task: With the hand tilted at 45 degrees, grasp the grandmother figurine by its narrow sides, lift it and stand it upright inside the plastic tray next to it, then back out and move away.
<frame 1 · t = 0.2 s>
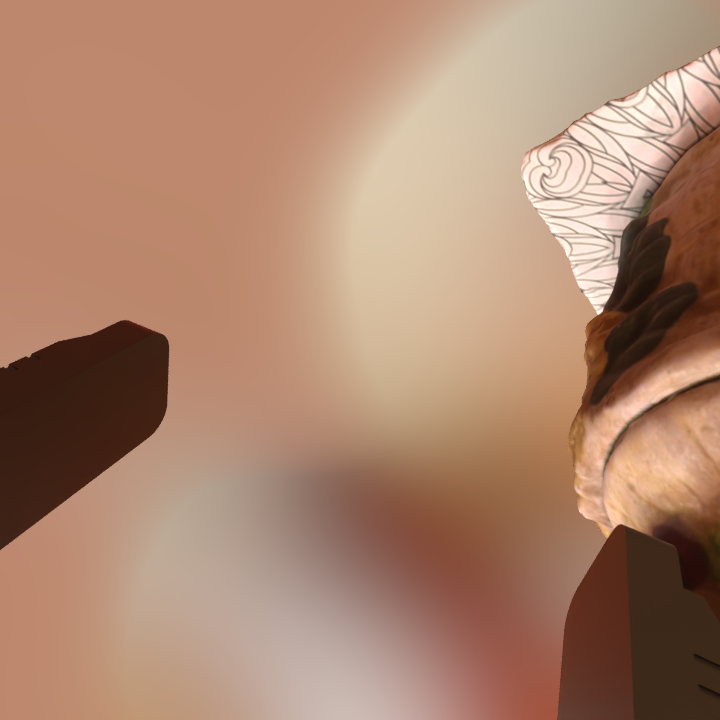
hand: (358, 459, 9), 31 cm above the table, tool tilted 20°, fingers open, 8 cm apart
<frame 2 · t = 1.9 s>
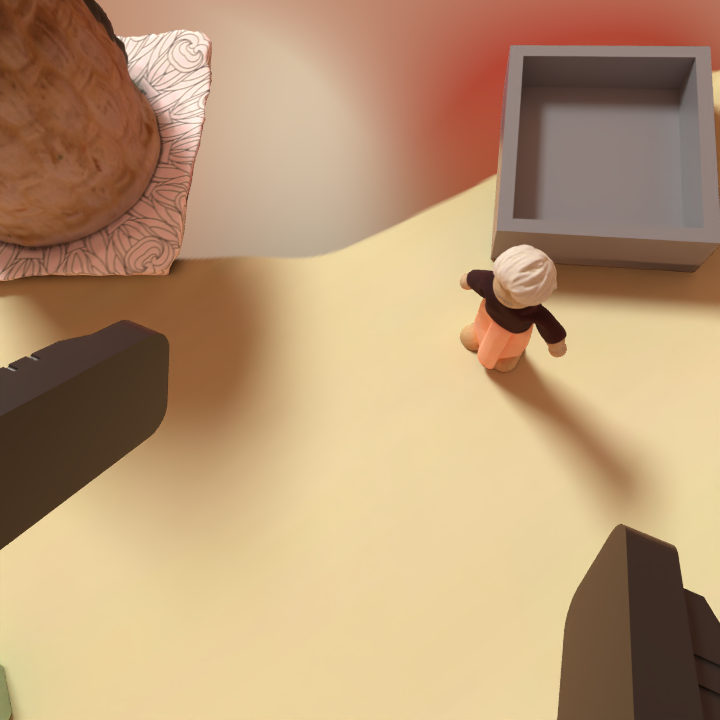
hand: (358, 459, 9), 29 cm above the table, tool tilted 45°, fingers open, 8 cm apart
grandmother figurine: (498, 349, 40), on the table
cookie jar: (73, 161, 50), on the table
tray: (591, 171, 43), on the table
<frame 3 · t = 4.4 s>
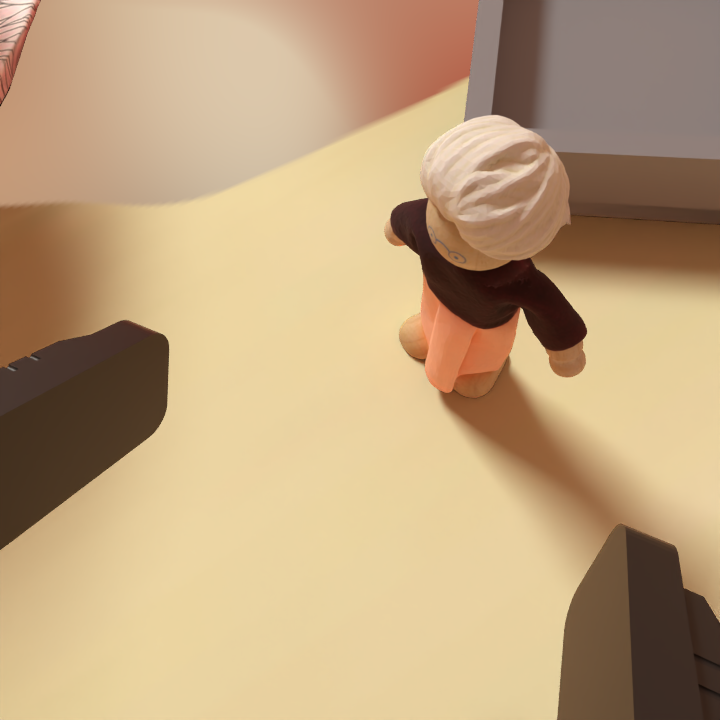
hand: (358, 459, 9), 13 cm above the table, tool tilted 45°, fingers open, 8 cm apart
grandmother figurine: (463, 358, 23), on the table
tray: (625, 69, 26), on the table
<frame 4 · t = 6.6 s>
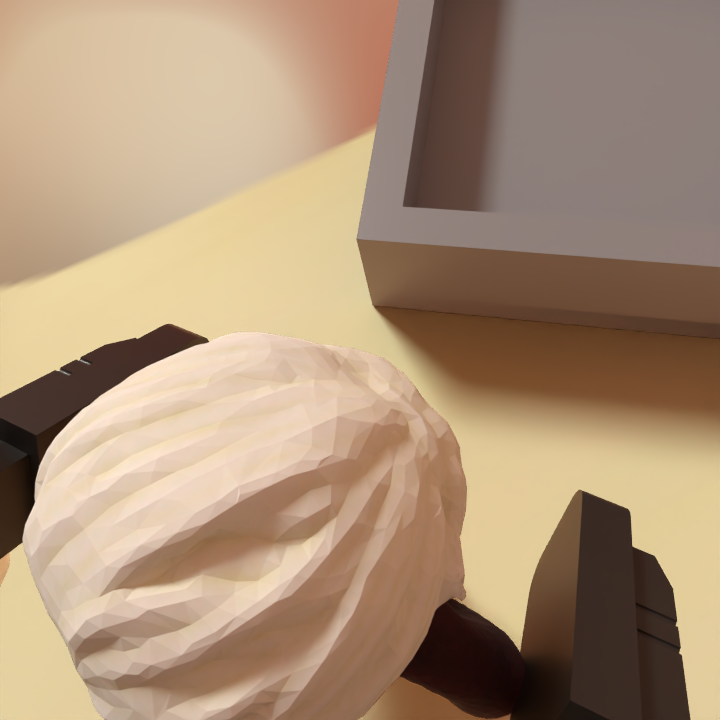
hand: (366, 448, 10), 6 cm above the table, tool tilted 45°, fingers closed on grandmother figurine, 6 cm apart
grandmother figurine: (371, 542, 15), on the table, touching gripper
tray: (614, 106, 19), on the table
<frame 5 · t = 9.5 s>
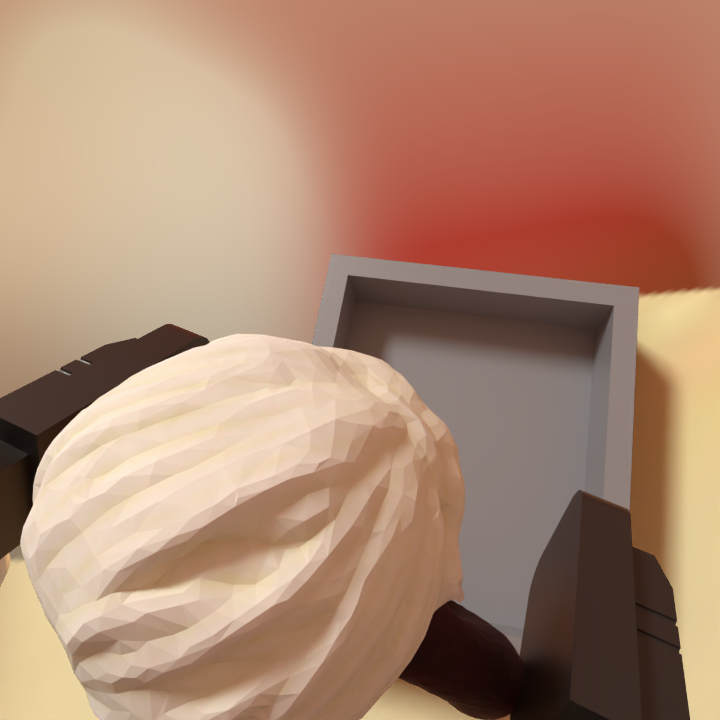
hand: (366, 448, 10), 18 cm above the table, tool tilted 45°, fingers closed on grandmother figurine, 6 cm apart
grandmother figurine: (370, 542, 15), point 12 cm above the table, touching gripper
tray: (452, 454, 27), on the table
when the fingers open (9 cm above the table, at t = 12.3 s): grandmother figurine drops 1 cm, resting on tray.
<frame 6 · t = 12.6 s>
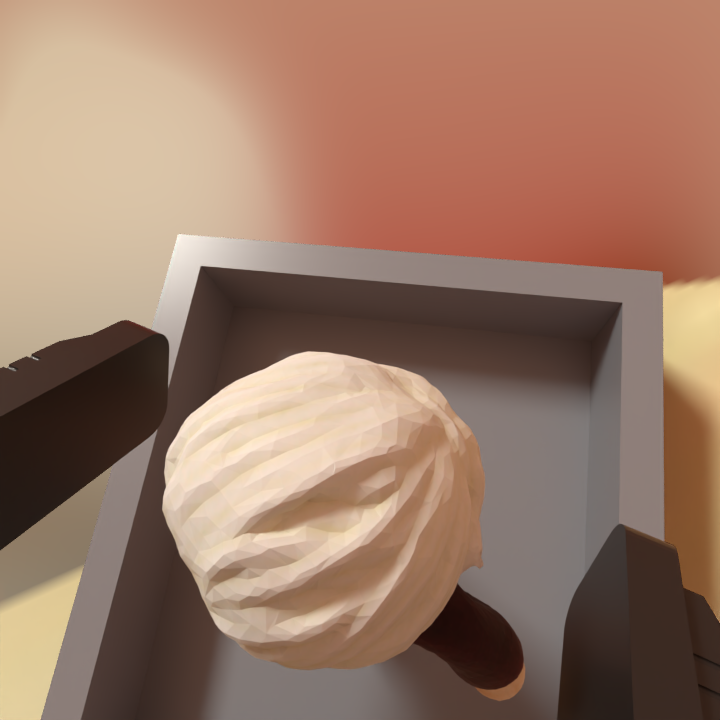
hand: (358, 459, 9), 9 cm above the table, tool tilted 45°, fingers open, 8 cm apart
grandmother figurine: (374, 549, 17), point 1 cm above the table, touching tray
tray: (376, 540, 18), on the table
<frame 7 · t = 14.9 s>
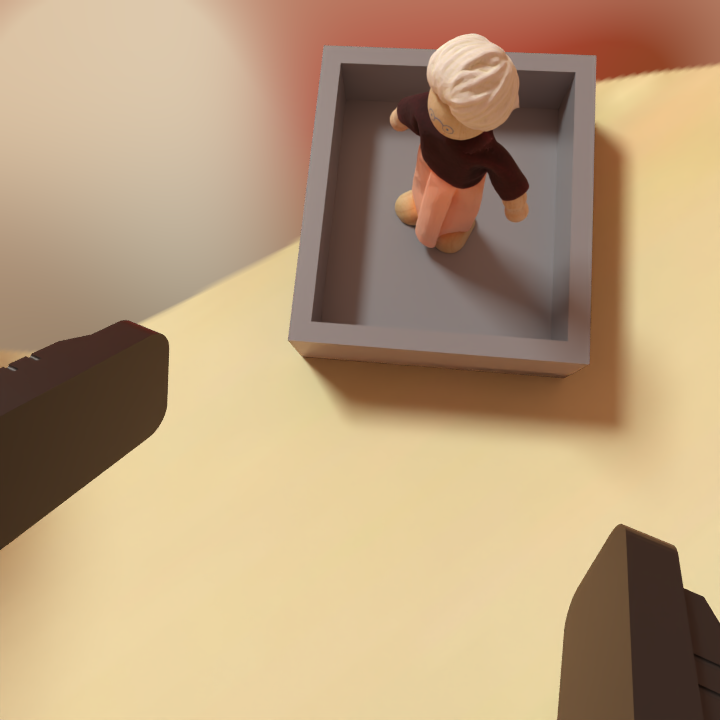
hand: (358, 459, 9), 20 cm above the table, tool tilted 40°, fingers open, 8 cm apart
grandmother figurine: (442, 225, 31), point 1 cm above the table, touching tray
tray: (440, 227, 31), on the table
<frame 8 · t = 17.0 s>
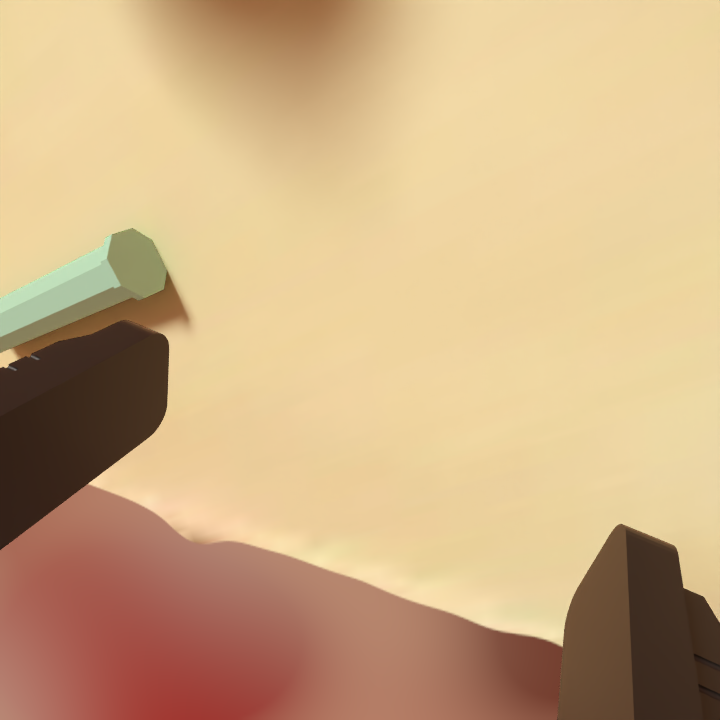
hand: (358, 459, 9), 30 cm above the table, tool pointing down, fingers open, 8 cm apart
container: (74, 293, 54), on the table
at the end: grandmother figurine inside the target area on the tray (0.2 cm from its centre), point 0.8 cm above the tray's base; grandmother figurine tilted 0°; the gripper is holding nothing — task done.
